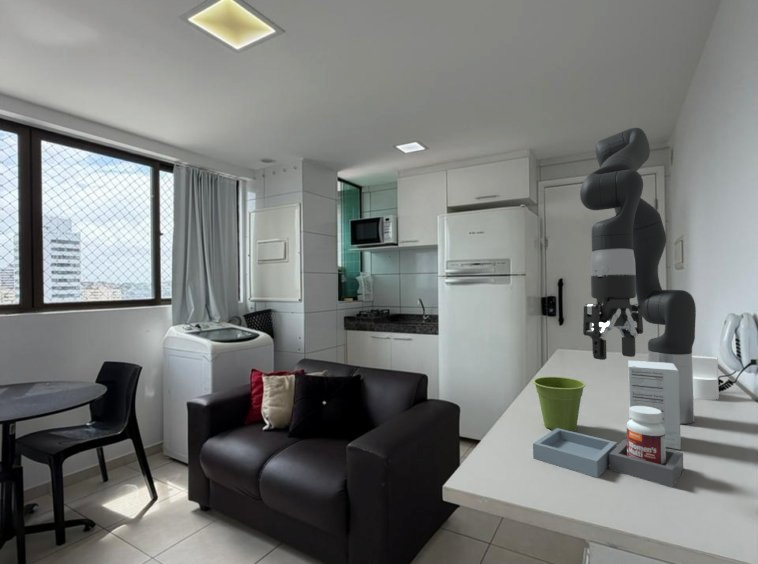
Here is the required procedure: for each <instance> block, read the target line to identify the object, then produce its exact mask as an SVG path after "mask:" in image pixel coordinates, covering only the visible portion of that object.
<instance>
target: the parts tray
mask: <svg viewBox="0 0 758 564" xmlns="http://www.w3.org/2000/svg"><path fill="white" fill-rule="evenodd" d="M617 446H618V442H617V441H612V440H608V439H604V438H600V437H596V436H592V435H587V434H584V433H579V432H576V431H567V430H563V429H559V428H556V429H555V430H551V431H550V432H549V433H547V434H545V435H544V436H542V437H541V438H540V439H539V438H538V439H537V440H536V441H534V442H533V443H532V457H533V459H536V460H538V461H541V462H545V463H548V464H551V465H555V466H558V467H560V468H565V469H567V470H569V471H574V472H578V473H580V474H584V475H586V476H591V477H594V478H596V479H598V477H600V475H602V474H603V472H604V471H605V470H606V469H608V467H610V460H609V454H610V453H611V452H612V451H613V450H614V449H615V448H616V447H617Z"/></svg>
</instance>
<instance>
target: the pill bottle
mask: <svg viewBox="0 0 758 564" xmlns="http://www.w3.org/2000/svg"><path fill="white" fill-rule="evenodd" d="M630 418H631V420H629V419H628V421H627V422H626V440H627V456H630V457H634V458H637V459H641V460H645V461H649V462H653V463H657V464H661V465H665V466H666V449H667V447H666V442H665V428H664V427H663V426H662V425H661V424H660V422H662V412H661V411H660V410H658V409H656V408H652V407H646V406H632V407H630Z"/></svg>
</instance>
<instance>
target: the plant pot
mask: <svg viewBox="0 0 758 564" xmlns="http://www.w3.org/2000/svg"><path fill="white" fill-rule="evenodd" d="M532 382H533V384H534V385H535V389H536V393H537V395H538V399H539V404H540V409H541V410H540V411H541V415H542V420H543V426H544V427H545V428H546V429H547V428H548V429H550V430H551V431H553V430H555V429H556V428H559V429H563V430H567V431H572V432H576V430H577V427H578V418H579V413H580V412H579V411H580V407H581V399H582V396H583V392H584V391H583V390H584V388H585V387H586V386H587V384H586V383H585V382H584V381H581V380H579V379H575V378H573V377H572V378H571V377H564V376H541V377H540V376H539V377H537V378H535V379H533V380H532Z"/></svg>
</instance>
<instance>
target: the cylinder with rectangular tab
mask: <svg viewBox="0 0 758 564" xmlns="http://www.w3.org/2000/svg"><path fill="white" fill-rule="evenodd" d="M718 359H719V358H718V357H716V356H704V355H703V356H701V355H692V368H693V400H694V399H695V400H703V401H704V400H705V401H715V400H716V399H717V400H719V398H720V397H719V395H720V394H719V364H718V362H719V361H718Z"/></svg>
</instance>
